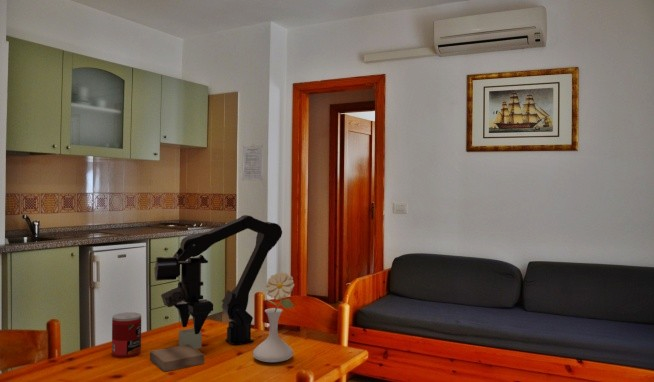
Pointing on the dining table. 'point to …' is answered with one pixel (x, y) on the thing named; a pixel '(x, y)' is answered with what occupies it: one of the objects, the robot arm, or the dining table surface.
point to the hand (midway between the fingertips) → (190, 330)
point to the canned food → (126, 334)
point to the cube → (190, 338)
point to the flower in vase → (276, 320)
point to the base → (176, 357)
